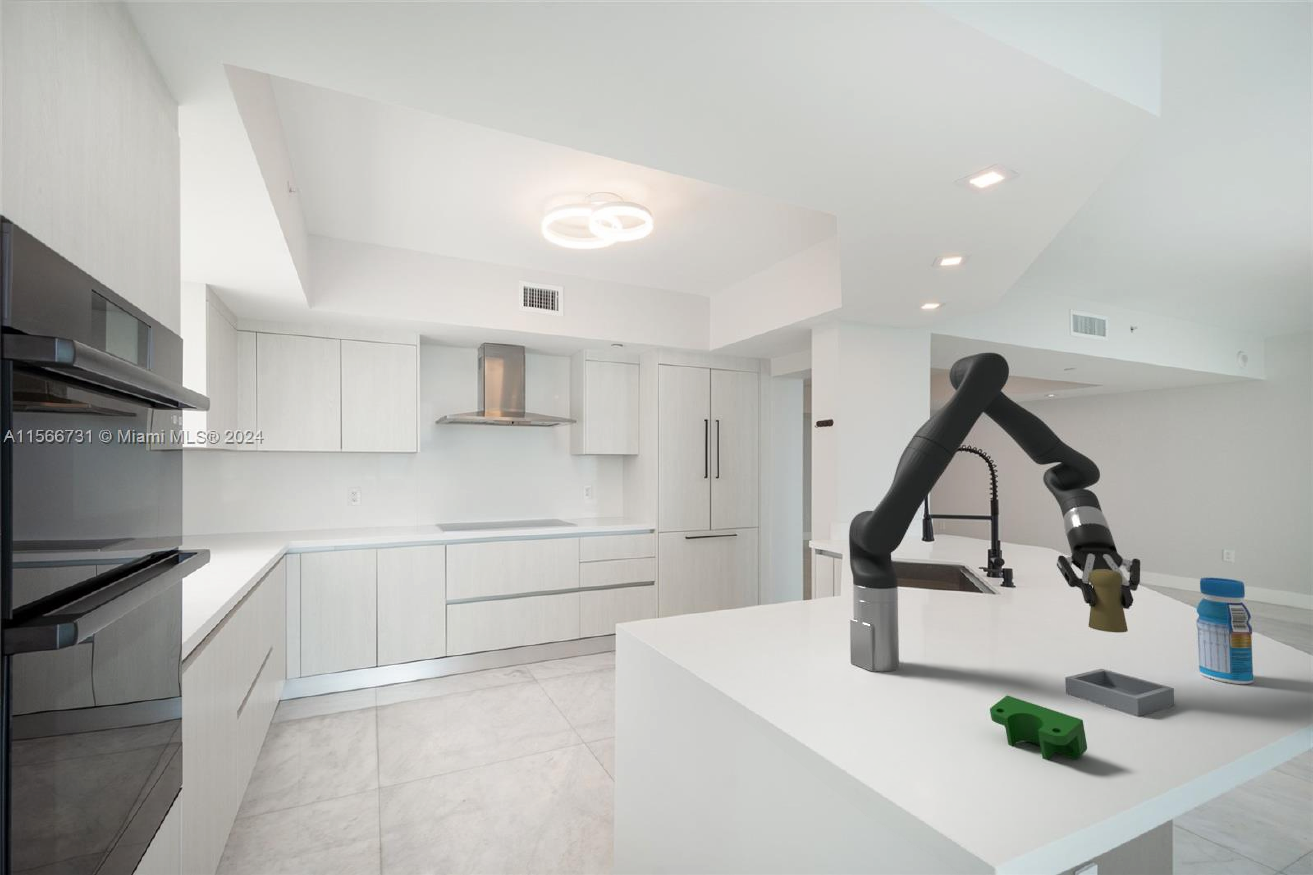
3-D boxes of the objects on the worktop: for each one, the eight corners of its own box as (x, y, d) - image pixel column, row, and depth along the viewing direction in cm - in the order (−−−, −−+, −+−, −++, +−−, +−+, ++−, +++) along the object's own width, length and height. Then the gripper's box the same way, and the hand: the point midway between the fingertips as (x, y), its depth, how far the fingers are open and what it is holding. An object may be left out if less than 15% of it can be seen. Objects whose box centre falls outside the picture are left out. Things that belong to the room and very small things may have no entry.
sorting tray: (1138, 716, 105) (1137, 698, 105) (1065, 693, 116) (1065, 677, 116) (1174, 705, 110) (1173, 688, 110) (1102, 683, 121) (1101, 668, 121)
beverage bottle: (1197, 678, 124) (1193, 580, 125) (1198, 668, 131) (1194, 575, 132) (1255, 688, 119) (1250, 585, 120) (1253, 678, 125) (1249, 580, 126)
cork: (1135, 633, 112) (1132, 572, 112) (1098, 631, 113) (1095, 572, 113) (1116, 624, 117) (1114, 567, 118) (1082, 623, 119) (1079, 566, 119)
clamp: (1008, 770, 95) (977, 711, 97) (1028, 752, 98) (998, 696, 100) (1081, 772, 85) (1044, 707, 88) (1101, 752, 88) (1065, 690, 90)
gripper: (1050, 521, 125) (1068, 591, 114) (1134, 522, 120) (1162, 596, 108) (1045, 543, 130) (1062, 613, 118) (1126, 546, 125) (1152, 619, 113)
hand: (1110, 605), depth 113 cm, fingers closed on cork, 4 cm apart
